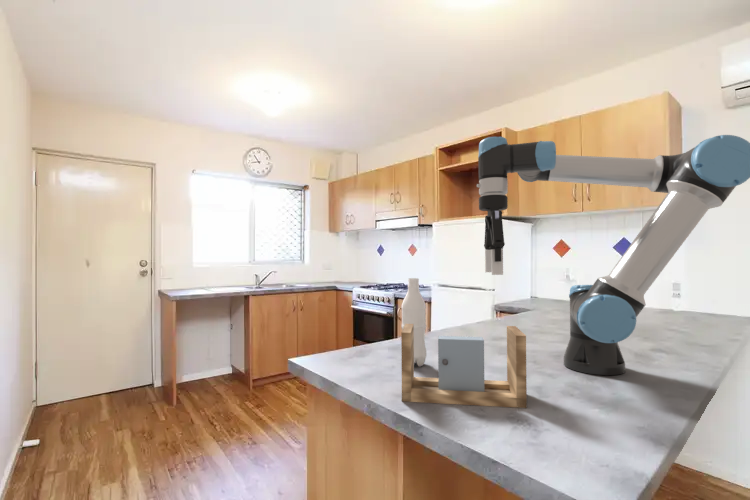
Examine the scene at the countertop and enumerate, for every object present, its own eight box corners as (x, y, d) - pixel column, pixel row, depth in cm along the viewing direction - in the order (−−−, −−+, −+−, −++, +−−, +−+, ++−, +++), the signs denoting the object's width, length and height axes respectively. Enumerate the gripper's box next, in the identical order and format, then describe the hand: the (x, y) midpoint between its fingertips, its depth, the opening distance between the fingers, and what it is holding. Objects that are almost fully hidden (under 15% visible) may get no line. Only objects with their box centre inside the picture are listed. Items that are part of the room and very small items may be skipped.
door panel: (482, 389, 90) (482, 337, 90) (484, 396, 86) (484, 341, 86) (438, 387, 92) (438, 335, 92) (438, 394, 87) (438, 339, 88)
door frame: (516, 390, 93) (515, 326, 93) (526, 408, 82) (526, 335, 82) (405, 384, 97) (405, 323, 97) (401, 401, 86) (401, 332, 86)
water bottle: (425, 368, 110) (424, 279, 110) (400, 367, 112) (399, 279, 112) (427, 361, 117) (426, 277, 117) (403, 360, 119) (402, 277, 119)
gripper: (474, 201, 120) (475, 271, 120) (484, 188, 96) (484, 275, 95) (500, 201, 119) (500, 271, 119) (516, 187, 95) (517, 275, 94)
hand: (493, 273), depth 107 cm, fingers open, 13 cm apart
